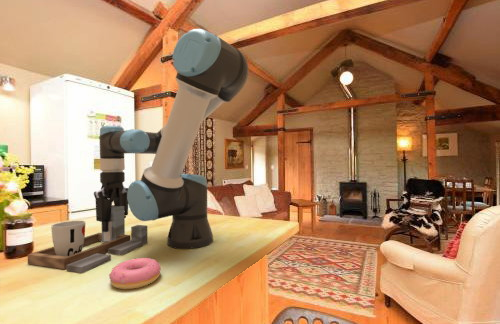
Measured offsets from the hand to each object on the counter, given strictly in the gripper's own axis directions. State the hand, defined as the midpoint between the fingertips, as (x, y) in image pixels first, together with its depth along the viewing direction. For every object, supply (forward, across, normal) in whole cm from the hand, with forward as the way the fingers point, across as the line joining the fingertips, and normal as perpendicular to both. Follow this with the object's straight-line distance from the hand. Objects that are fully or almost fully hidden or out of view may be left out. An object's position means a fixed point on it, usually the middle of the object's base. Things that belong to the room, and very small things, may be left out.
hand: (113, 238), depth 91 cm
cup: (+1, +16, 0) cm, 16 cm away
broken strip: (+1, +10, +10) cm, 15 cm away
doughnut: (+2, +22, +29) cm, 37 cm away
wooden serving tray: (+1, +11, 0) cm, 11 cm away
